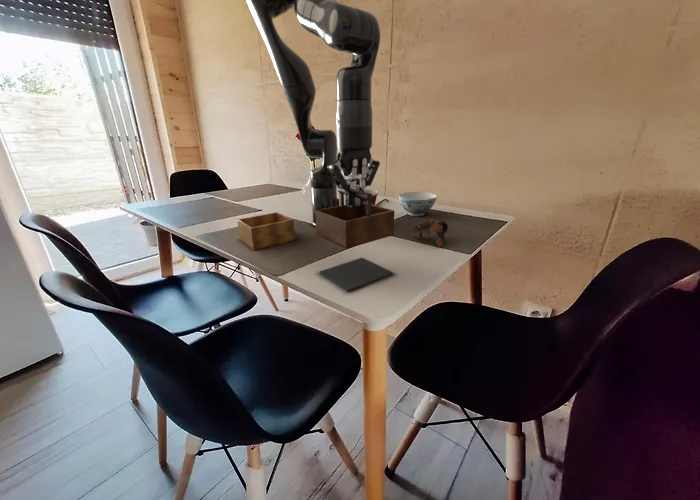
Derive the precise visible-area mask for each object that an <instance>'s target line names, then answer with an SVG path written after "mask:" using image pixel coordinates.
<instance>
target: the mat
mask: <svg viewBox="0 0 700 500" xmlns="http://www.w3.org/2000/svg"><path fill="white" fill-rule="evenodd" d="M319 274H320V275H321V276H323V277H324V278H325V279H327V280H329V281H330V282H331V283H333V284H334V285H336V286H338V287H339V288H341V289H342V290H344V291H346V292H347V293H350V292H352V291H354V290H358V289H360V288H362V287H365V286H367V285H370V284H372V283H375V282H377V281H380V280H383V279H385V278H388V277H389V276H392V275H393V274H394V273H393V271H391V270H388V269H386V268H384V267H382V266H380V265H379V264H376V263H374V262H372V261H370V260H368V259H366V258H363V257H359V258H357V259H354V260H350V261H348V262H345V263H342V264H339V265H336V266H332V267H329V268H327V269H323V270H320V271H319Z"/></svg>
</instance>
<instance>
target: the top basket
mask: <svg viewBox="0 0 700 500" xmlns="http://www.w3.org/2000/svg"><path fill="white" fill-rule="evenodd" d="M354 191H355V197H356V198H360V199H364V200H366V203H365V202H363V205H362V206H357V205H355V207H353V208H351V207H348V206H347V205H346V204H345V190H344V189H341V188H338V187H337V193H338V194H339V195H338V196H339V206H336V207H331V208H326V209H320V210H315V215H316V227H315V230H316V235H317V236H318V237H320V238H322V239H325V240H327V241H328V242H331V243H333V244H334V245H336V246H339V247H341V248H343V249H345V250H347V249H348V250H349V249H352V248H354V247H358V246H361V245H365V244H369V243H371V242H376V241H379V240H382V239H386V238H388V237H393V236H394V234H395V210H393V209H390V208H387V207H382V206H380V205H378V206H376V204H375V205H372V204H371V200H372V198H373V196H372V194H370V193H366V192H362V191H358V190H354Z"/></svg>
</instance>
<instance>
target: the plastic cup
mask: <svg viewBox="0 0 700 500" xmlns="http://www.w3.org/2000/svg"><path fill="white" fill-rule="evenodd" d="M364 192H366V193H370V194H372V196H373V198H372V200H371V204H372V205H376V202H377V197H378V194H379V191H378V190H376V189H370V188H367V189H366V188H365V189H364ZM364 202H365V203H366V200H364Z"/></svg>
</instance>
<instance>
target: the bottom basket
mask: <svg viewBox="0 0 700 500" xmlns="http://www.w3.org/2000/svg"><path fill="white" fill-rule="evenodd" d="M236 221H237V226H238V227H237V228H238V233H239V239H240V241H241V242H242V243H244V244H245V245H246V246H247V247H249V248H250V249H251V250H253V251H257V250H261V249H265V248H269V247H274V246H277V245H281V244H285V243H290V242H293V241H296V231H295V222H294V219H293V218H292V217H289V216H287V215H285V214H282V213H280V212H278V211H275V212H270V213H265V214H260V215H253V216H249V217H242V218H238V219H236Z"/></svg>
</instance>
